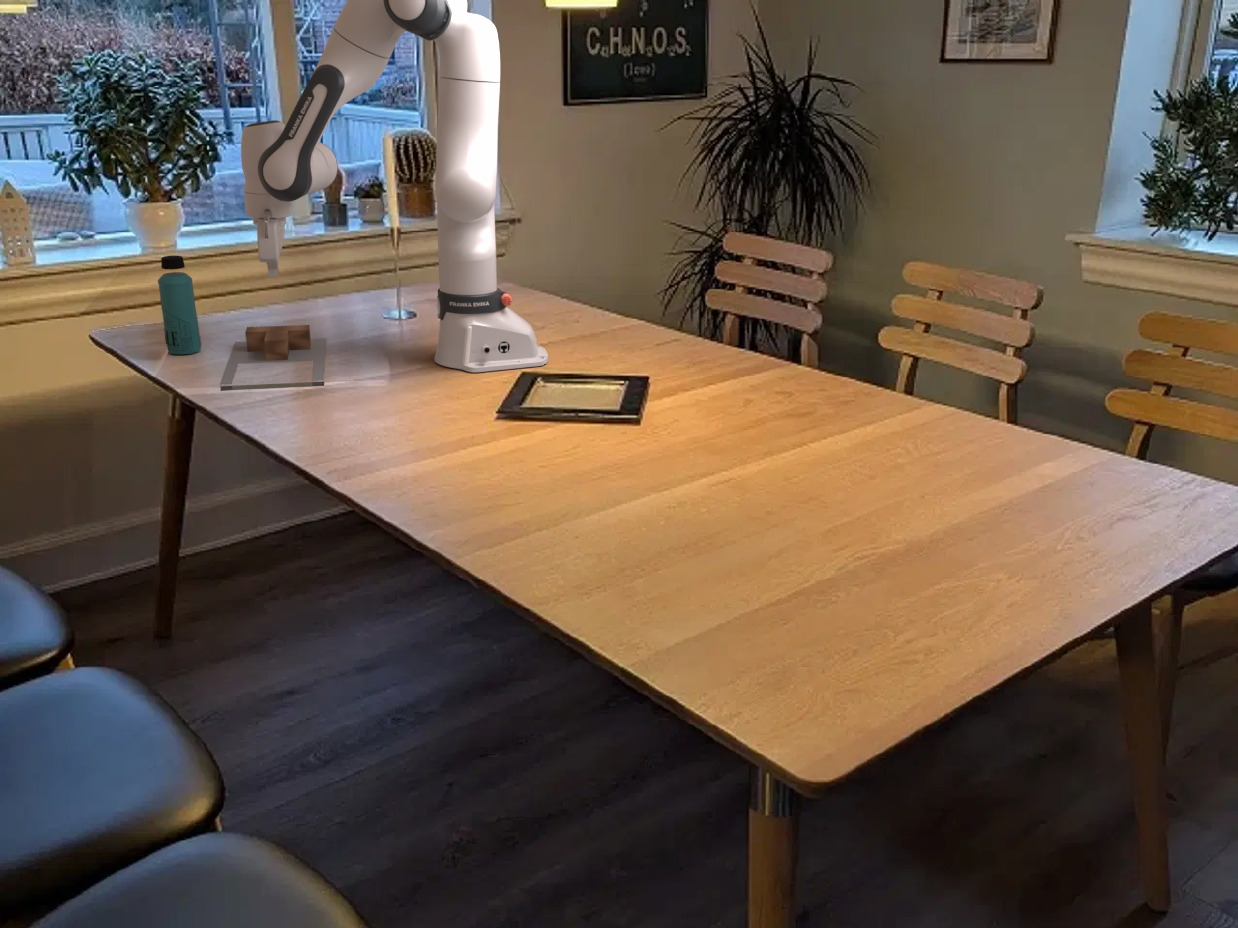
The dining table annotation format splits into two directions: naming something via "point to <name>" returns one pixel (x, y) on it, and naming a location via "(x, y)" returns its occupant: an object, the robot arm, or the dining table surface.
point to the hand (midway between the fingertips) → (273, 276)
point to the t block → (278, 340)
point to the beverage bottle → (178, 308)
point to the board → (242, 357)
